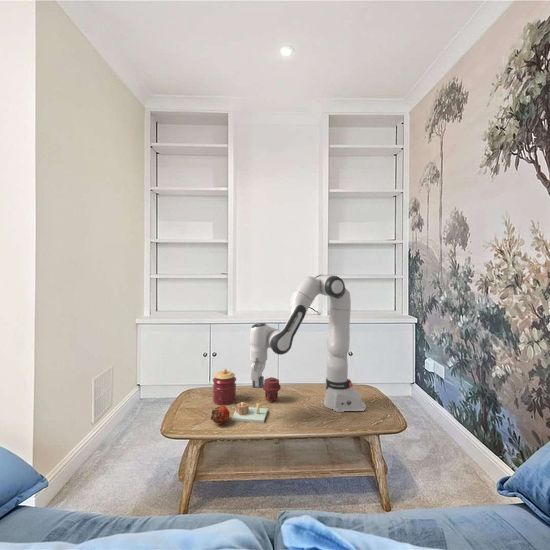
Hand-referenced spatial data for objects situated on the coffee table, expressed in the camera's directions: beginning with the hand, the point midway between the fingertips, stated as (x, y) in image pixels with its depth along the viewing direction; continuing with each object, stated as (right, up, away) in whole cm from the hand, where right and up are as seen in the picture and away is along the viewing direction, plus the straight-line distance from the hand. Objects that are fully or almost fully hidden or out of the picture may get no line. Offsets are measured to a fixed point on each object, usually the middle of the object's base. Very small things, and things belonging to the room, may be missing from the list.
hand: (258, 383), depth 163 cm
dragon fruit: (-18, -17, -5) cm, 26 cm away
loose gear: (0, -2, 0) cm, 2 cm away
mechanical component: (+6, -16, +19) cm, 26 cm away
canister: (-20, -16, +19) cm, 32 cm away
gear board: (-4, -17, +1) cm, 17 cm away
